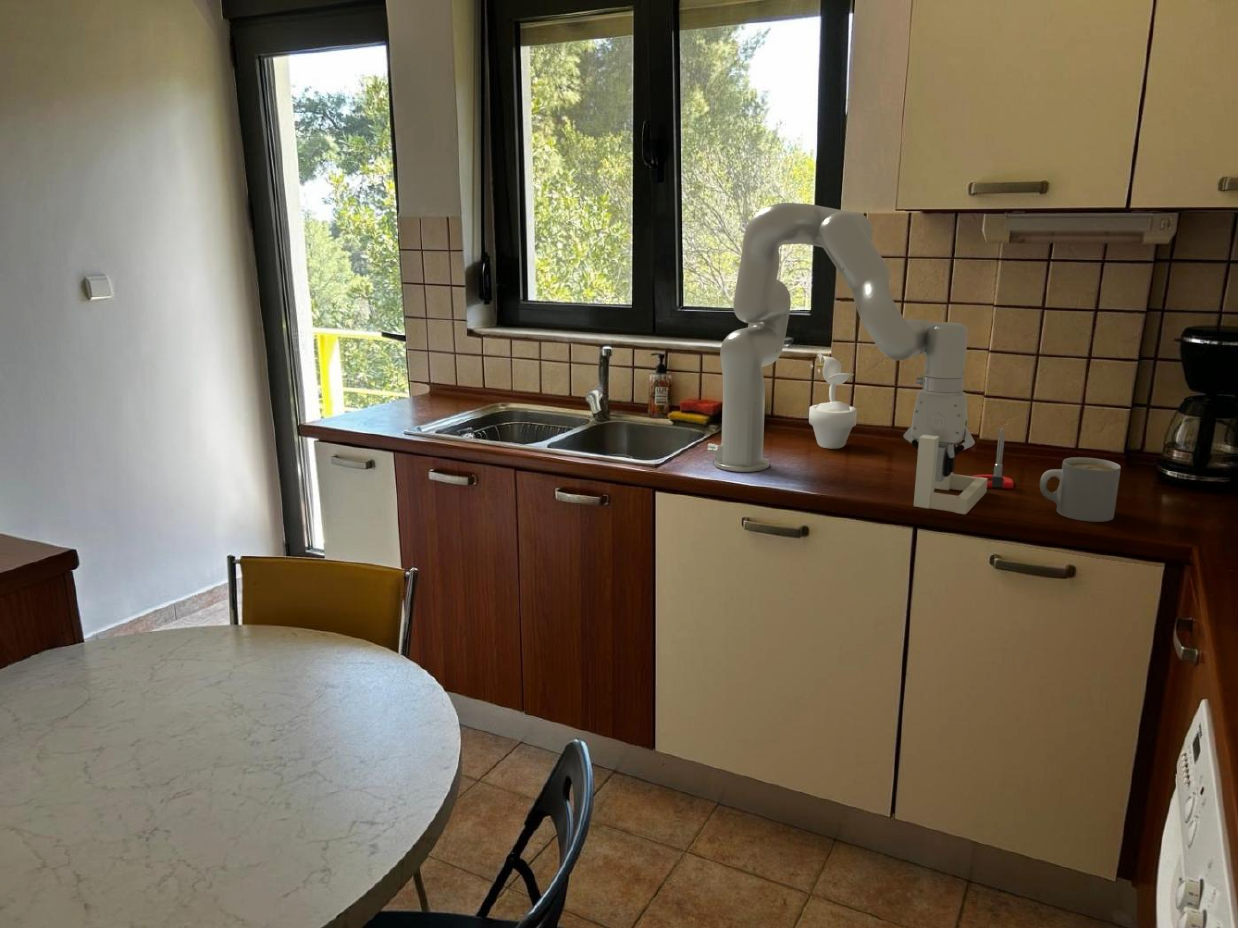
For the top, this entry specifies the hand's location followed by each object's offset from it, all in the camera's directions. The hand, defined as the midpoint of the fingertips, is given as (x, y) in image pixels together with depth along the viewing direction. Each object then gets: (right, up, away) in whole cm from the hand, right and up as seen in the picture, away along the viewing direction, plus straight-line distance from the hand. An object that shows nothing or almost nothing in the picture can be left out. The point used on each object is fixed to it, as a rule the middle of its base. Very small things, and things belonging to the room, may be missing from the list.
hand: (935, 472), depth 188 cm
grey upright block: (0, -1, 0) cm, 1 cm away
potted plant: (-11, +6, +43) cm, 45 cm away
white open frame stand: (+3, -5, -1) cm, 6 cm away
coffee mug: (+24, -8, -9) cm, 27 cm away
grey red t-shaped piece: (+16, -3, +11) cm, 20 cm away
